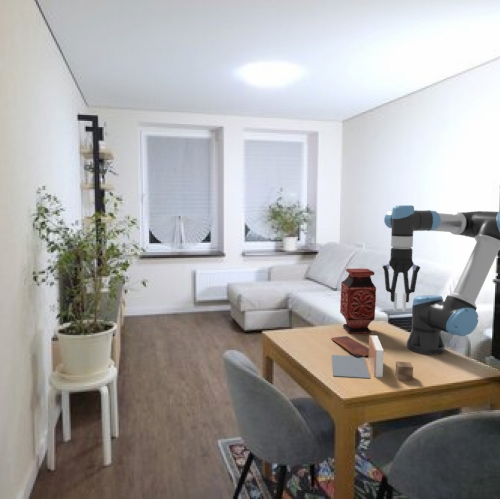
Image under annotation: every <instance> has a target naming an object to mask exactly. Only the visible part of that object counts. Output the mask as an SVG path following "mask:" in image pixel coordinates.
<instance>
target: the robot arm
mask: <svg viewBox="0 0 500 499" xmlns="http://www.w3.org/2000/svg"><path fill="white" fill-rule="evenodd" d="M384 225H385V226H386V227H387V228H389V229H391V234H390V235H391V237H390V238H391V239H390V241H391V242H390V246H391V248H390V259H389V261H388V263H386V264H382V265H381V267H382V269H383V272H384V284H385V290H386V291H387V293H390V302H392V303H393V304H392V306H393V307H392V310H393V311H394V312H397V305H398V304H397V303H398V293H397V292H396V288H397V283H398V276H399V274H403V275H402V276H403V285H404V292H402V302H401V304H402V306H401V310H402V311H403V313H404V312H406V311H407V303H409V302H410V294H412V293H415V292H416V287H417V286H416V285H417V279H418V275H419V274H418V273H419V271H420V270H421V267H420V266H419V265H418V264H417V265H416V264H414V262H413V248H412V247H414V246H413V245H414V244H413V243H414V232H420V231H421V232H425V231H427V232H431V231H432V232H445V233H451V234H452V235H457V236H462V237H463V236H464V237H467V238H473V239H475V242H476V243H475V245H474V247H473V249H472V251H471V253H470V255H469V258H468V259H467V260H468V261H467V263H466V264H465V267H464V268H463V270H462V273H461V275H460V277H459V278H458V279H459V280H458V281H457V283H456V285H455V288H454V290H453V292H452V293H451V294H450V293H449V294H448V295H446V297H445V300H444V298H443V296H442V295H433V294H429V295H426V294H424V295H417V296H414V298H413V300H412V309H411V310H412V311H411V312H412V313H411V314H412V315H411V331H410V333H409V336H408V338H407V341H406V348H407V349H408V350H410V351H412V352H415V353H418V354H424V355H440V354H443V353H445V351H446V350H445V349H446V345H445V342H444V341H445V340H444V338H443V334H442V332H445V333H448V334H450V335H452V336H458V337H466V336H468V335H470V334H472V333H473V332H474V331H475V330H476V328H477V326H478V324H479V319H478V318H479V314H478V312H477V309H478V308H477V305H476V301H477V298H478V296H479V294H480V292H481V290H482V287H483V285H484V284H485V281H486V279H487V278H488V277H487V276H488V275H489V273H490V270H491V268H492V266H493V264H494V262H495V260H496V258H497V256H498V253H499V251H500V211H489V210H488V211H487V210H486V211H480V210H478V211H476V210H475V211H466V212H465V211H464V212H463V211H462V212H458V211H457V212H456V211H455V212H453V213H443V212H442V213H440V212H437V211H435V210H431V209H430V210H416V209H415V207H414V205H409V204H408V205H399V204H398V205H394V206H393V207H392V209H391V210H389V211H387V212H386V213H385V215H384ZM390 267H391V268H390ZM411 268H412V270H413V271H412V275H411V282H409V272H410V270H411ZM390 269H392V270H393V272H392V274H393V275H392V281H391V283H390V273H389V271H390ZM390 284H391V286H390Z"/></svg>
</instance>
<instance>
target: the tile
mask: <svg viewBox="0 0 500 499" xmlns="http://www.w3.org/2000/svg"><path fill="white" fill-rule="evenodd" d="M368 337H369V338H368V348H369V356H368V361H369V365H370V368H371V371H372V372H371V373H372V375H373V377H374V378H383V376H384V375H383V374H384V348H383V346H382V344H381V341H380V339H379V336H378V335H370V334H369V336H368Z"/></svg>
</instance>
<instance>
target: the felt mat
mask: <svg viewBox="0 0 500 499" xmlns="http://www.w3.org/2000/svg"><path fill="white" fill-rule="evenodd" d="M365 357H366V356H355V355H344V354H341V355H340V354H331V363H332V364H331V365H332V366H331V367H332V377H339V378H355V379H371V375H370V372H369V369H368V365H367V364H368V363H367V361H366V358H365Z"/></svg>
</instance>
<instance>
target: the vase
mask: <svg viewBox="0 0 500 499" xmlns="http://www.w3.org/2000/svg"><path fill="white" fill-rule="evenodd" d="M345 270H346V273H348V275H347V277H346V278H345V279H344V280H342V281H341V283H340V284H341V286H340V287H341V290H340V310H339V313H340V314H341V315H342V316H343V317H344V320H345V322H346V323H344V324H342V328H343V329H344V330H345V331H347V333H348V334H349V335H350V334H355V335H356V334H371V332H372V331H371V329H370V328H369V325H370V324H371V322H373V321H374V320H375V319H376V318H375V316H376V304H377V303H376V302H377V287H376V285H375V284H374V283H373V281H372V277H371V276H374V275H375V271H373V270H370V269H369V268H345Z"/></svg>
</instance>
